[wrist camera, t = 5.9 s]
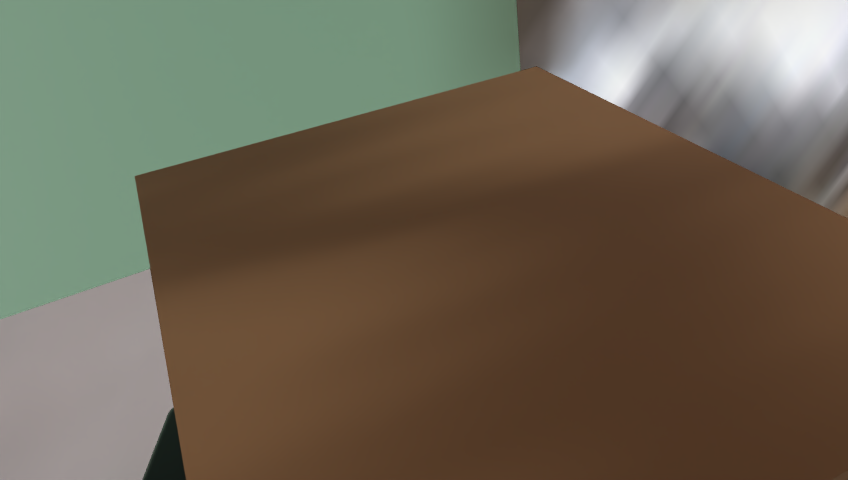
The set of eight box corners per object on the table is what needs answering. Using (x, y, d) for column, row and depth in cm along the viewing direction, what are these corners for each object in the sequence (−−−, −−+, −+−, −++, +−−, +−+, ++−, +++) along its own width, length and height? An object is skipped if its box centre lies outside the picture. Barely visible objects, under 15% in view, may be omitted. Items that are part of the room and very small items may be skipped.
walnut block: (251, 475, 10) (408, 1046, 5) (134, 175, 7) (243, 808, 3) (542, 354, 11) (872, 719, 7) (536, 66, 9) (1089, 338, 4)
